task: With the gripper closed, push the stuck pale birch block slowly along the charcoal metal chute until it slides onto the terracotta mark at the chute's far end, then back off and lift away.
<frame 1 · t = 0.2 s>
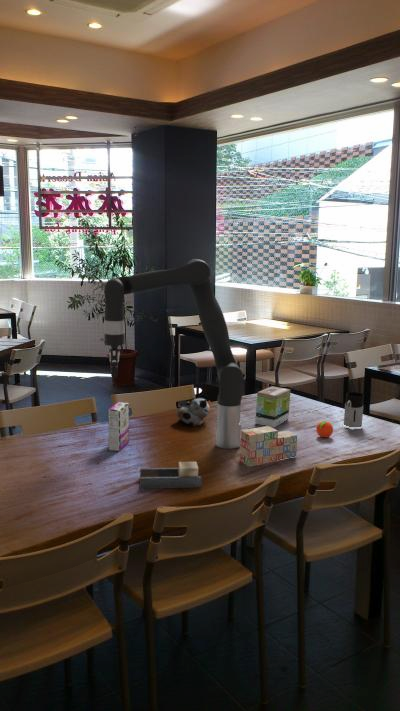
hand: (114, 374, 231), 29 cm above the table, fingers open, 8 cm apart
chute: (170, 482, 204), on the table
tea box: (272, 422, 274), on the table
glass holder: (350, 428, 268), on the table
birch block: (188, 472, 204), point 4 cm above the table, slide at 0.0 cm
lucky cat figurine: (192, 422, 270), on the table
candy bar box: (118, 446, 237), on the table
stack of blocks: (268, 460, 228), on the table
clementine: (323, 438, 255), on the table
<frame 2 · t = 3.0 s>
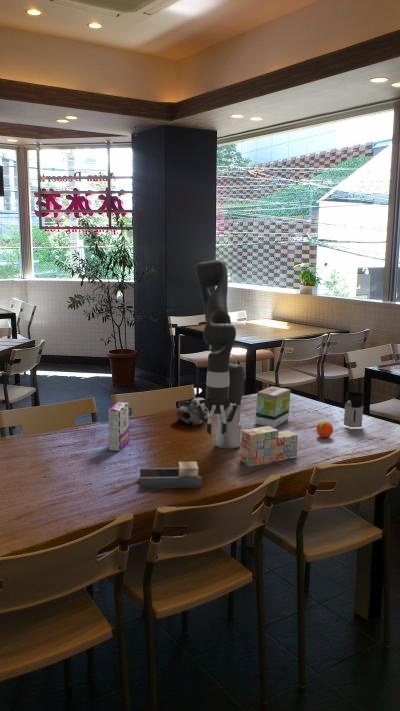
hand: (216, 433, 202), 17 cm above the table, fingers open, 3 cm apart
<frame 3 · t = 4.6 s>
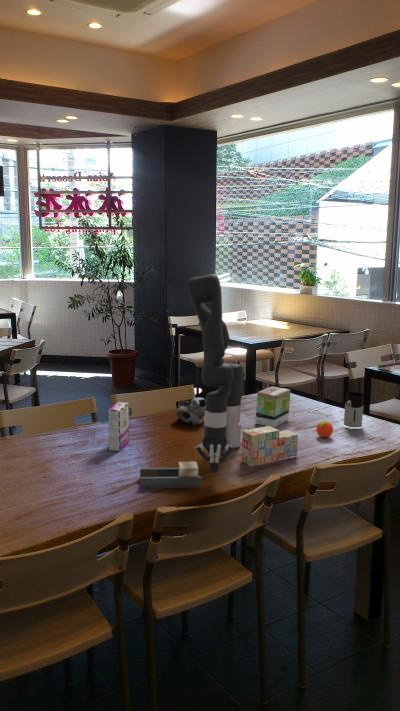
hand: (213, 472, 205), 3 cm above the table, fingers closed
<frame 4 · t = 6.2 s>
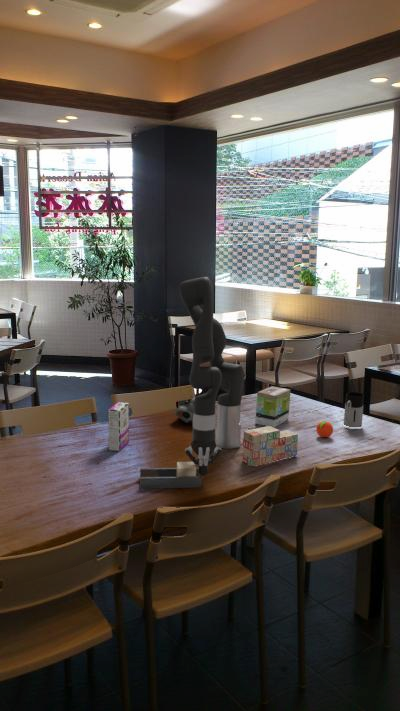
hand: (202, 475, 205), 3 cm above the table, fingers closed
birch block: (186, 472, 204), point 4 cm above the table, slide at 0.7 cm, touching gripper
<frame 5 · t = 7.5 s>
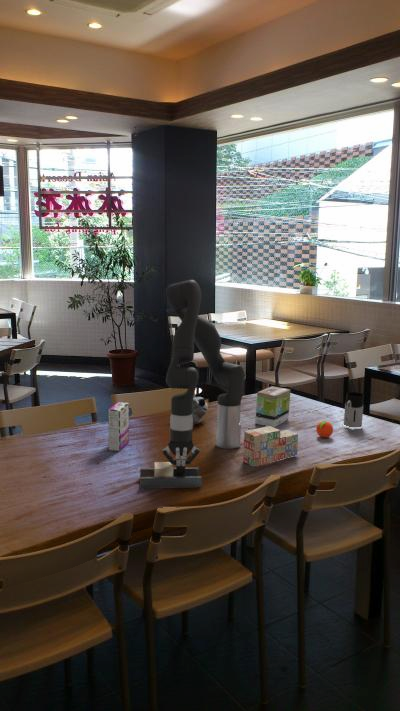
hand: (180, 475, 204), 3 cm above the table, fingers closed
birch block: (163, 472, 203), point 4 cm above the table, slide at 8.3 cm, touching gripper
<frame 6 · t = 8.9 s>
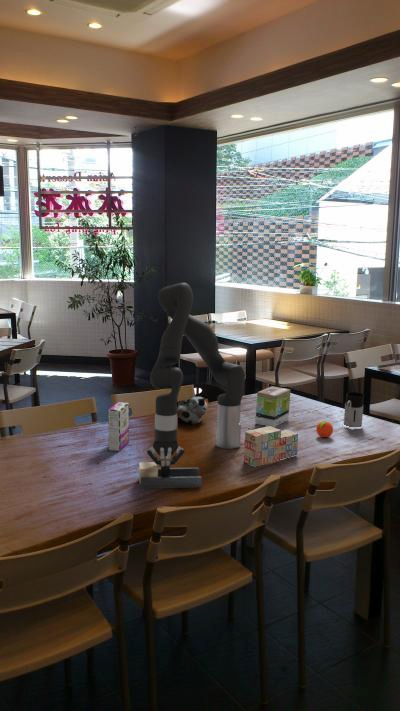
hand: (165, 475, 203), 3 cm above the table, fingers closed
birch block: (148, 472, 203), point 4 cm above the table, slide at 13.3 cm, touching gripper
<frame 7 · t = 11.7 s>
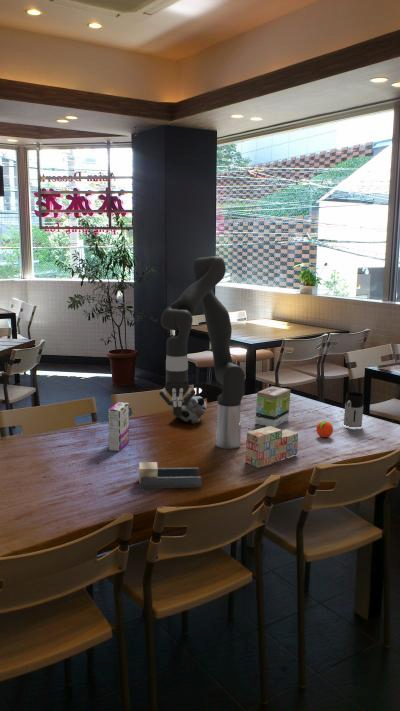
hand: (177, 416, 210), 20 cm above the table, fingers closed
birch block: (148, 472, 203), point 4 cm above the table, slide at 13.4 cm
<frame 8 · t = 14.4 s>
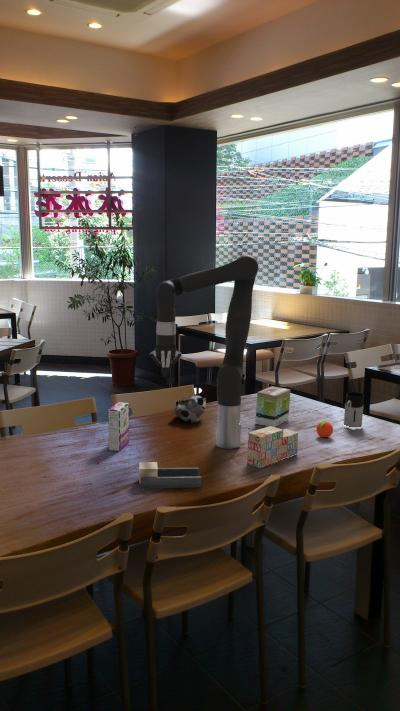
hand: (165, 376, 239), 27 cm above the table, fingers closed
at the end: birch block slide at 13.4 cm; the gripper is holding nothing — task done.
